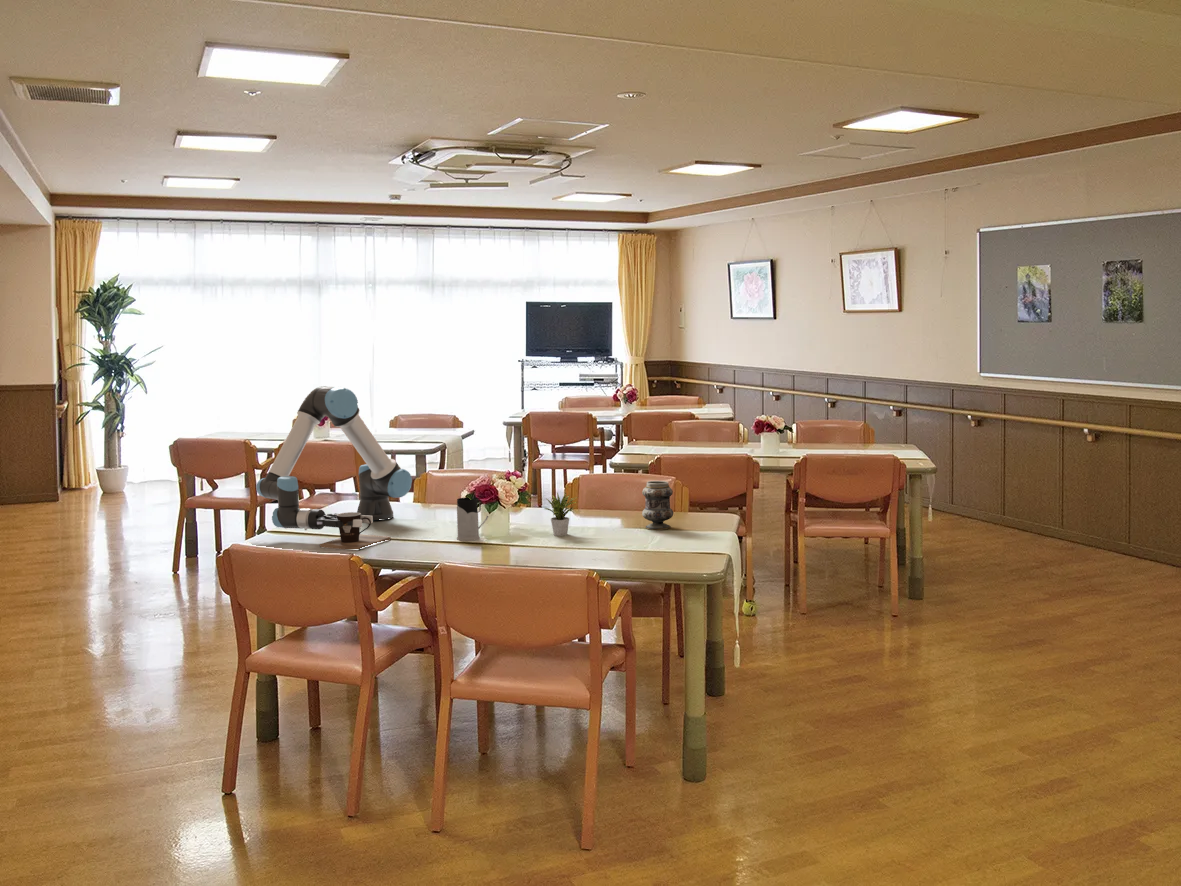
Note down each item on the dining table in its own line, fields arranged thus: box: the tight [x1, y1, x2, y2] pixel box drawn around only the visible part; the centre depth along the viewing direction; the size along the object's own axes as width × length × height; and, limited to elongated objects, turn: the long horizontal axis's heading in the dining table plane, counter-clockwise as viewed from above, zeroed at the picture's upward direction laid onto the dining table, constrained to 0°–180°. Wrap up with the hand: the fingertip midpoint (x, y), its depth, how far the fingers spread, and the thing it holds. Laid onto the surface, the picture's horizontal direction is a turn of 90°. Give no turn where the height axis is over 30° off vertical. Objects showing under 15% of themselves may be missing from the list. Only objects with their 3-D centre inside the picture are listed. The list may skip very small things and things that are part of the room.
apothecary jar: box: [641, 480, 674, 531], centre depth 429 cm, size 12×12×18 cm
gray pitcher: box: [456, 497, 489, 542], centre depth 417 cm, size 9×14×15 cm, turn 127°
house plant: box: [544, 492, 578, 537], centre depth 418 cm, size 14×14×16 cm
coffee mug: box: [337, 511, 372, 543], centre depth 408 cm, size 12×9×10 cm
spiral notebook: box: [319, 533, 392, 550], centre depth 410 cm, size 20×17×1 cm
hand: (366, 521), depth 408 cm, fingers open, 7 cm apart
